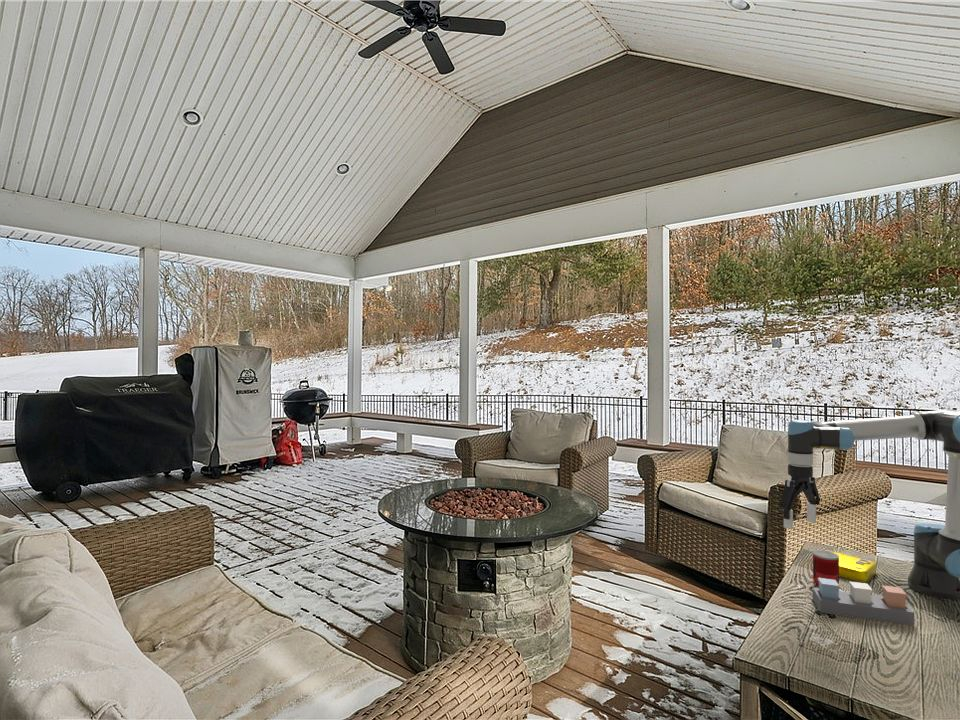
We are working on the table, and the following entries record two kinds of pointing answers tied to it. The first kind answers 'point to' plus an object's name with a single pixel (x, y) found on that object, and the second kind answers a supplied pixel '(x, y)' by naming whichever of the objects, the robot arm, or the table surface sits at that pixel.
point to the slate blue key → (828, 588)
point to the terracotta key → (894, 596)
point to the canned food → (825, 566)
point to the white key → (860, 592)
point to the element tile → (856, 568)
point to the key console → (863, 608)
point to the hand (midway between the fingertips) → (800, 525)
